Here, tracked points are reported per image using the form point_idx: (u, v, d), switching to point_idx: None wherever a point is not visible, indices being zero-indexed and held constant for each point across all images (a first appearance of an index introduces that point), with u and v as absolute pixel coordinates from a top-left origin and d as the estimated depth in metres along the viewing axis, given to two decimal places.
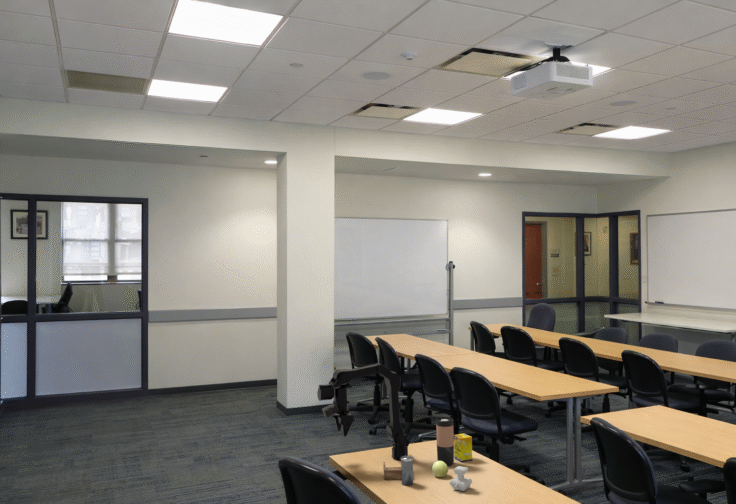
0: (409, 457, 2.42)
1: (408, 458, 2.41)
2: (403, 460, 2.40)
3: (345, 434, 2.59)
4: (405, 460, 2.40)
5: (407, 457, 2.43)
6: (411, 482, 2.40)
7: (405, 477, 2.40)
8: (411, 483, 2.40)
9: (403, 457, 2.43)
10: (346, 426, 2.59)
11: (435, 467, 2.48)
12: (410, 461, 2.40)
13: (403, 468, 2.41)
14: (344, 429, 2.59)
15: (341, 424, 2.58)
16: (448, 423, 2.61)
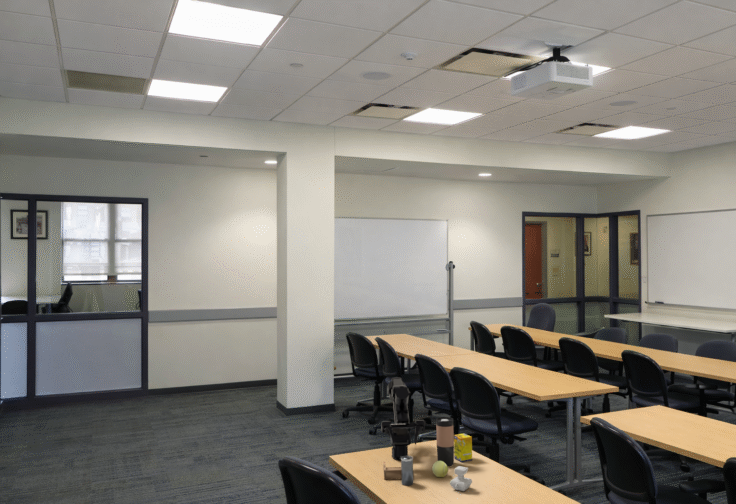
0: (409, 457, 2.42)
1: (408, 458, 2.41)
2: (403, 460, 2.40)
3: (392, 442, 2.50)
4: (405, 460, 2.40)
5: (407, 457, 2.43)
6: (411, 482, 2.40)
7: (405, 477, 2.40)
8: (411, 483, 2.40)
9: (403, 457, 2.43)
10: (390, 434, 2.53)
11: (435, 467, 2.48)
12: (410, 461, 2.40)
13: (403, 468, 2.41)
14: (390, 438, 2.53)
15: None
16: (448, 423, 2.61)
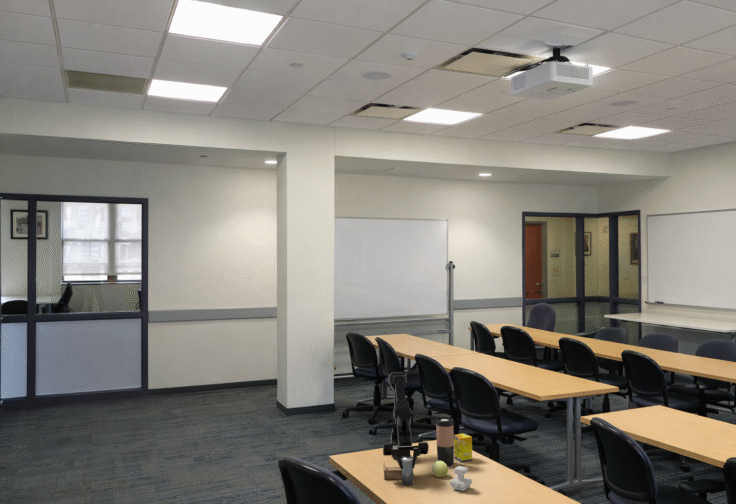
0: (409, 457, 2.42)
1: (408, 458, 2.41)
2: (403, 460, 2.40)
3: (399, 465, 2.41)
4: (405, 460, 2.40)
5: (407, 457, 2.42)
6: (411, 482, 2.40)
7: (405, 477, 2.40)
8: (411, 483, 2.40)
9: (403, 457, 2.43)
10: (397, 457, 2.44)
11: (435, 467, 2.48)
12: (410, 461, 2.40)
13: (403, 468, 2.41)
14: (397, 461, 2.43)
15: None
16: (448, 423, 2.61)
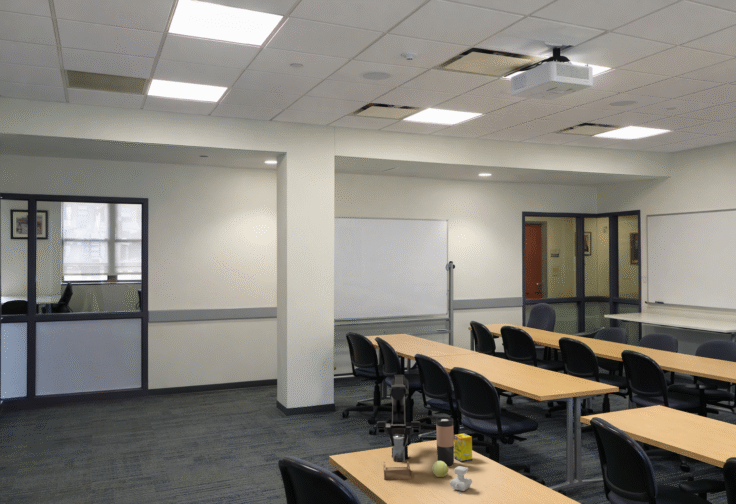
0: (400, 435, 2.50)
1: (399, 436, 2.49)
2: (394, 438, 2.48)
3: (391, 443, 2.49)
4: (396, 438, 2.48)
5: (399, 435, 2.50)
6: (402, 459, 2.48)
7: (396, 454, 2.48)
8: (402, 460, 2.48)
9: (395, 435, 2.50)
10: None
11: (435, 467, 2.48)
12: (401, 439, 2.48)
13: (394, 445, 2.48)
14: None
15: None
16: (448, 423, 2.61)
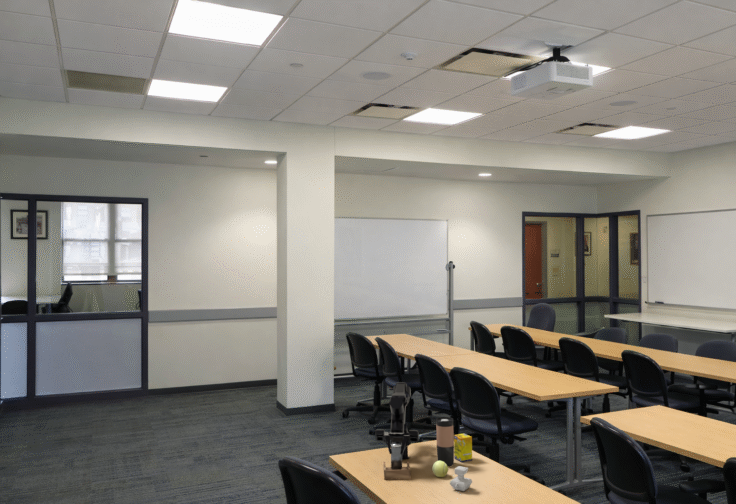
0: (398, 443, 2.53)
1: (397, 444, 2.52)
2: (392, 446, 2.51)
3: (389, 451, 2.52)
4: (393, 446, 2.51)
5: (396, 443, 2.53)
6: (399, 467, 2.51)
7: (393, 462, 2.51)
8: (399, 468, 2.51)
9: (393, 443, 2.53)
10: None
11: (435, 467, 2.48)
12: (398, 447, 2.51)
13: (392, 453, 2.51)
14: None
15: None
16: (448, 423, 2.61)
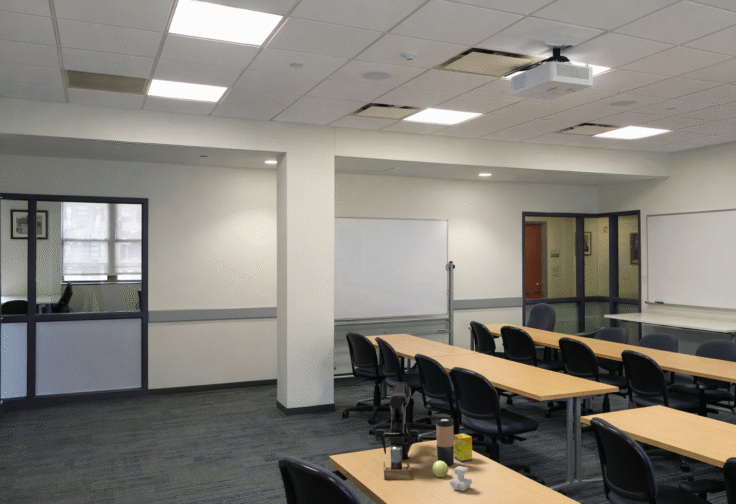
0: (398, 446, 2.53)
1: (397, 447, 2.52)
2: (392, 449, 2.51)
3: (384, 451, 2.53)
4: (393, 449, 2.51)
5: (396, 446, 2.53)
6: None
7: (393, 465, 2.51)
8: None
9: (392, 446, 2.53)
10: None
11: (435, 467, 2.48)
12: (398, 450, 2.51)
13: (392, 456, 2.51)
14: (383, 447, 2.55)
15: None
16: (448, 423, 2.61)
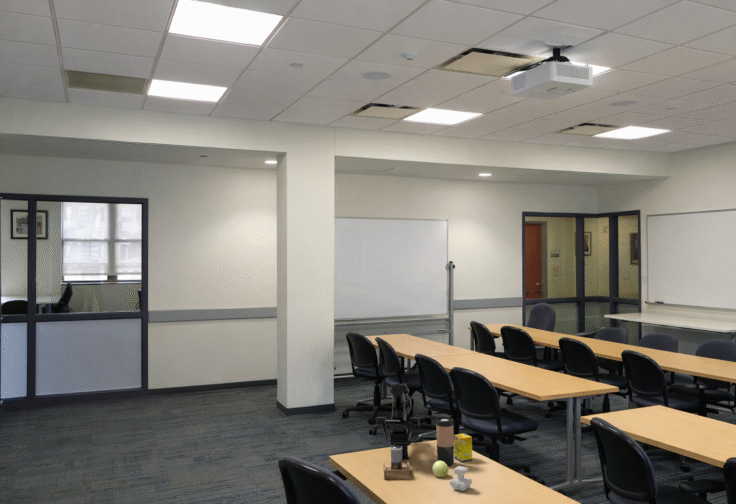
0: (398, 446, 2.53)
1: (397, 447, 2.52)
2: (392, 449, 2.51)
3: (385, 437, 2.59)
4: (394, 449, 2.51)
5: (397, 446, 2.53)
6: None
7: (393, 465, 2.51)
8: None
9: (393, 446, 2.53)
10: None
11: (435, 467, 2.48)
12: (398, 450, 2.50)
13: (392, 456, 2.51)
14: (384, 433, 2.61)
15: None
16: (448, 423, 2.61)
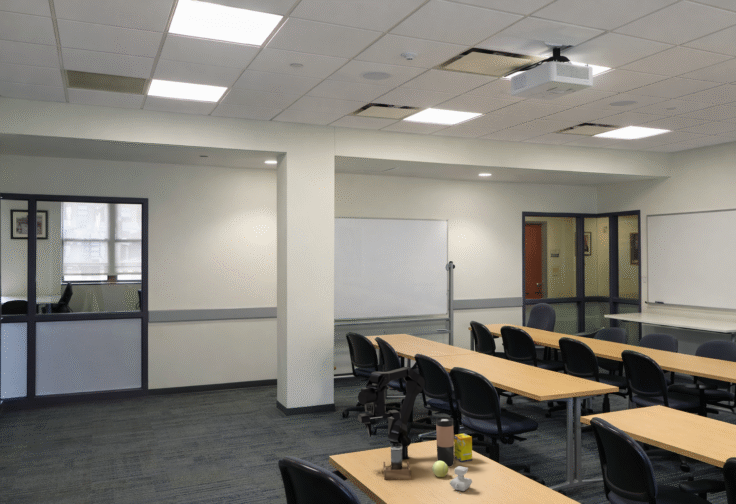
0: (398, 446, 2.53)
1: (397, 447, 2.52)
2: (392, 449, 2.51)
3: (369, 434, 2.63)
4: (393, 449, 2.51)
5: (397, 446, 2.53)
6: None
7: (393, 464, 2.51)
8: None
9: (393, 446, 2.53)
10: (367, 427, 2.63)
11: (435, 467, 2.48)
12: (398, 450, 2.51)
13: (392, 456, 2.51)
14: (367, 429, 2.64)
15: None
16: (448, 423, 2.61)
